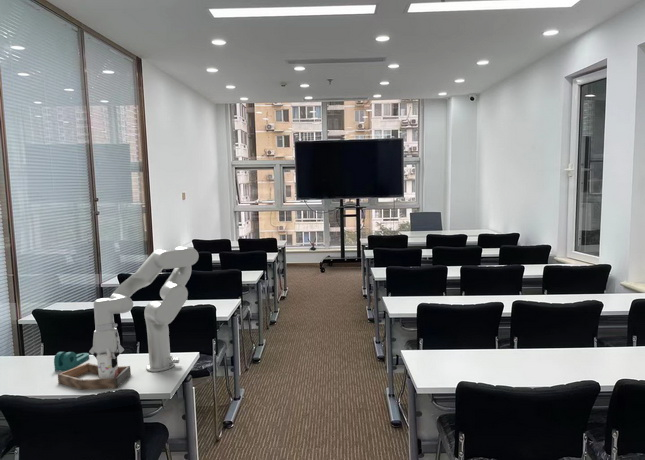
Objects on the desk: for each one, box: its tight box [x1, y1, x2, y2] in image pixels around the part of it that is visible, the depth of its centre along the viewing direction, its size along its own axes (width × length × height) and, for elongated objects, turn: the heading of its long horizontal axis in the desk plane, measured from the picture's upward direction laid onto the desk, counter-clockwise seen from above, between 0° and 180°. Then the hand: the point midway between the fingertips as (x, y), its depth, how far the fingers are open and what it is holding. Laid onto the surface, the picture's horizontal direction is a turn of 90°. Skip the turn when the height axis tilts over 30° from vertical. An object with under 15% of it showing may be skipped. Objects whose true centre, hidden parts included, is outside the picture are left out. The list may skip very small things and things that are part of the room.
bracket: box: [53, 351, 90, 372], centre depth 226 cm, size 18×7×8 cm, turn 171°
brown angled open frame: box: [57, 362, 132, 391], centre depth 204 cm, size 30×21×4 cm
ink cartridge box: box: [96, 348, 119, 379], centre depth 201 cm, size 9×5×15 cm, turn 179°
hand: (107, 366), depth 201 cm, fingers closed on ink cartridge box, 5 cm apart
